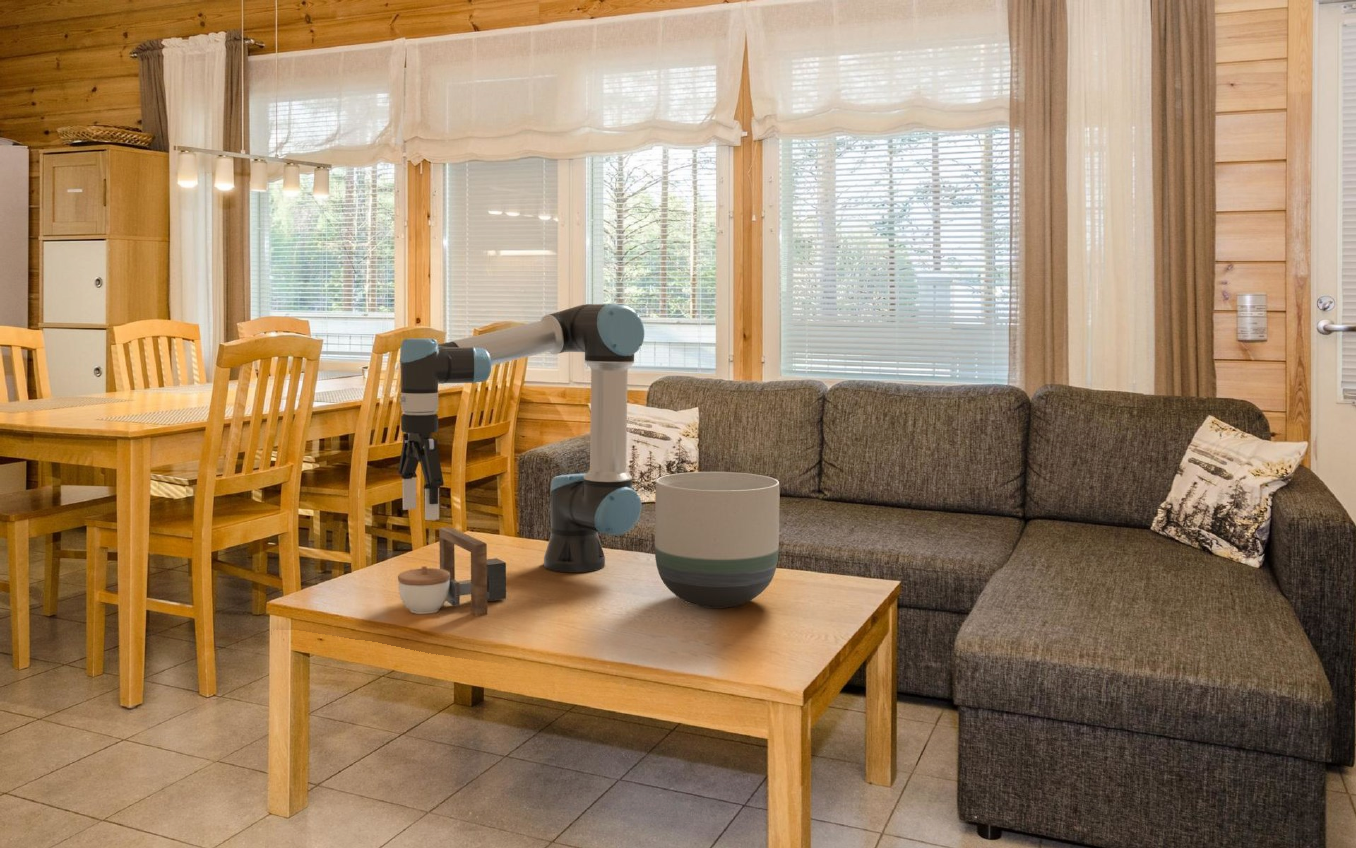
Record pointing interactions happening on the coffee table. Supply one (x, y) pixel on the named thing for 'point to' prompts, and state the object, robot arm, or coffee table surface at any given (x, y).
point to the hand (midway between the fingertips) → (420, 514)
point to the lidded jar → (424, 589)
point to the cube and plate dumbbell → (494, 583)
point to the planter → (716, 536)
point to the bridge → (478, 564)
